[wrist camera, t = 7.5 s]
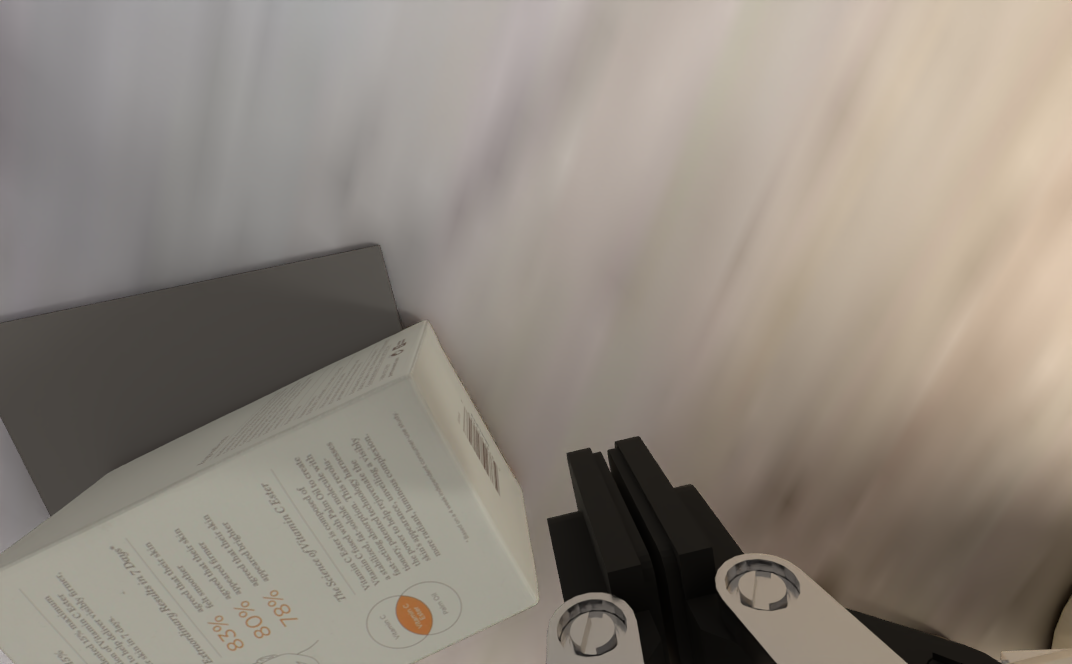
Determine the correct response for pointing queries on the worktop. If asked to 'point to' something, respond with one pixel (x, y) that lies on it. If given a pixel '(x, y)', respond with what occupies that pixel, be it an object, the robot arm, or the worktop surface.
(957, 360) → the worktop surface
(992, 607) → the worktop surface
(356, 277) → the mat
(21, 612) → the small box
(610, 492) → the robot arm
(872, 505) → the worktop surface
